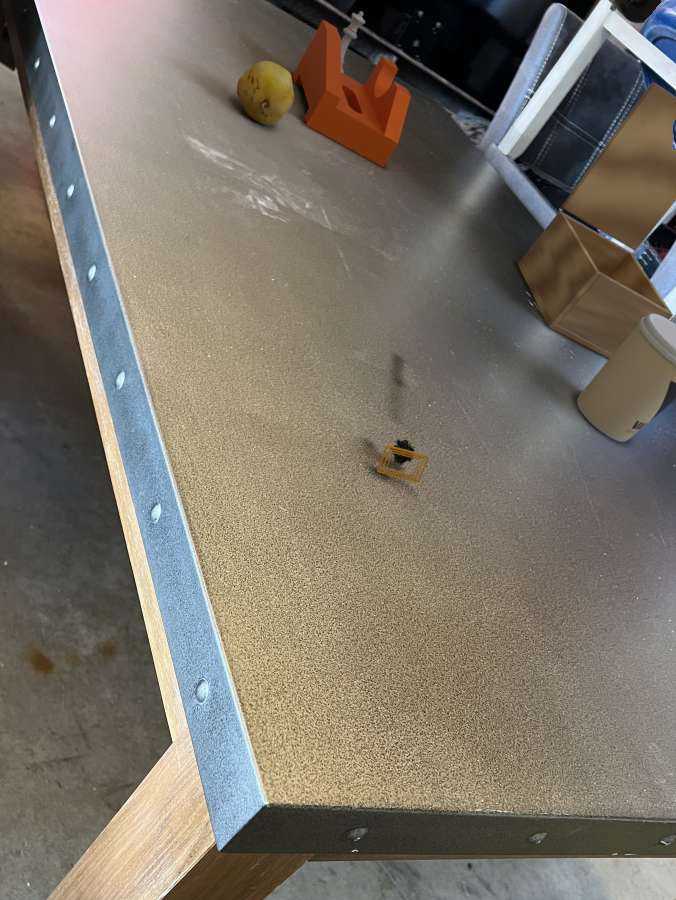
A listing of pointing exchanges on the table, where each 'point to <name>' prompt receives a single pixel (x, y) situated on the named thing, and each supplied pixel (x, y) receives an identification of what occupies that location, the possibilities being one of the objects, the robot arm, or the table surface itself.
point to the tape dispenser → (351, 99)
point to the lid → (632, 173)
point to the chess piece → (350, 33)
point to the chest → (588, 285)
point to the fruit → (266, 92)
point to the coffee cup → (634, 381)
